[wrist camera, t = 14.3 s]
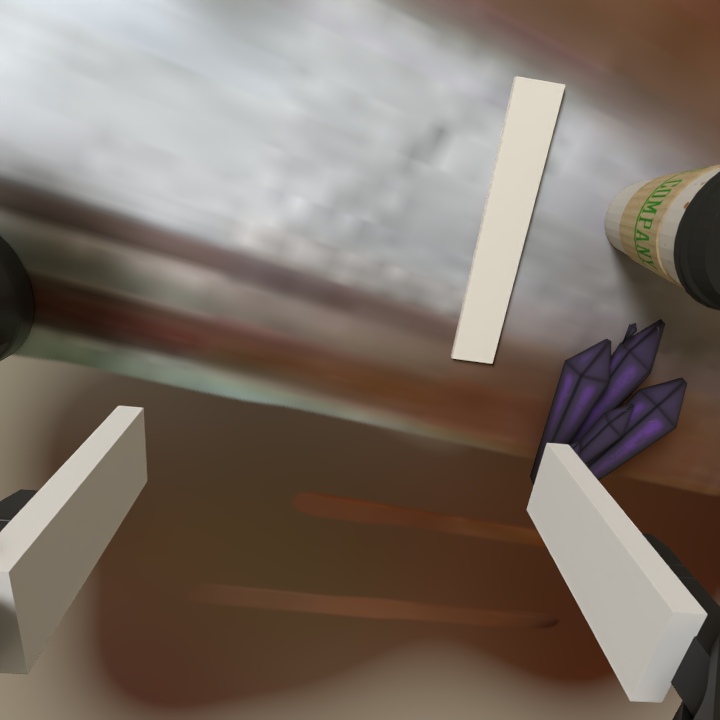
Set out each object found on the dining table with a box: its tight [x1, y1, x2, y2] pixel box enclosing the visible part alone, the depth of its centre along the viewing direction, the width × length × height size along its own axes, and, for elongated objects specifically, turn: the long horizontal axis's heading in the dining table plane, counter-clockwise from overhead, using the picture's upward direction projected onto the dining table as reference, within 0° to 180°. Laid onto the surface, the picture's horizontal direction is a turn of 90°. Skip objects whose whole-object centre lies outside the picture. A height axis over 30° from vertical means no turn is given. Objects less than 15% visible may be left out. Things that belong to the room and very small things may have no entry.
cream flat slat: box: [451, 76, 565, 364], centre depth 43 cm, size 4×24×1 cm, turn 172°
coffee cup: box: [605, 165, 720, 310], centre depth 36 cm, size 10×10×15 cm
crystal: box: [530, 319, 687, 485], centre depth 46 cm, size 7×12×20 cm
